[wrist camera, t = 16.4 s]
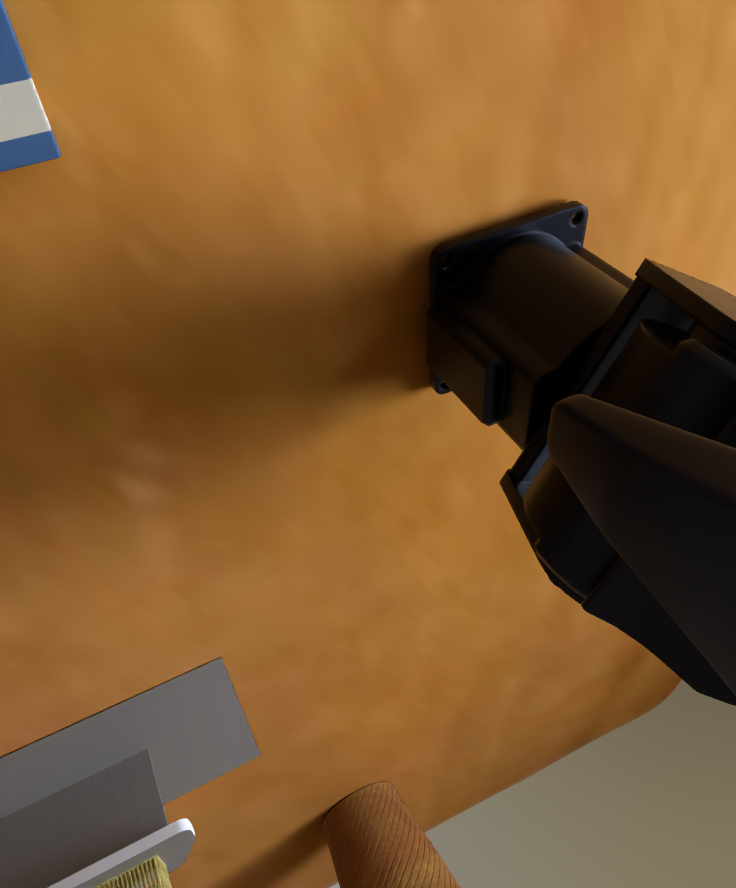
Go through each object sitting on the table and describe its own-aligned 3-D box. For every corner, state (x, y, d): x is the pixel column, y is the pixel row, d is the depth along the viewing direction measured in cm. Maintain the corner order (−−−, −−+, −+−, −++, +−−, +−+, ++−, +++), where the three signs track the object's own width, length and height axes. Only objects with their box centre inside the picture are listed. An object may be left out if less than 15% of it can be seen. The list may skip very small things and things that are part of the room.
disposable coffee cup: (429, 770, 58) (513, 922, 50) (350, 838, 60) (419, 996, 52) (366, 766, 51) (452, 942, 43) (278, 843, 53) (345, 1026, 45)
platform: (260, 754, 42) (302, 863, 38) (-57, 915, 37) (-50, 1063, 32) (221, 657, 34) (269, 783, 29) (-197, 847, 28) (-214, 1034, 24)
